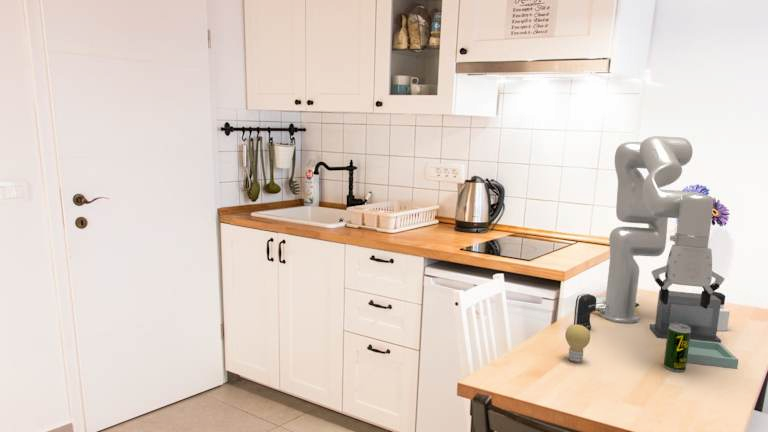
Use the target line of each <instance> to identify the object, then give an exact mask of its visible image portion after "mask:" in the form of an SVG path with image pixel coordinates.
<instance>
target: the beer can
mask: <svg viewBox="0 0 768 432" xmlns="http://www.w3.org/2000/svg"><path fill="white" fill-rule="evenodd" d="M690 335H691V330H690V327H689V326H688V325H685V324H681V323H670V326H669V327H668V335H667V339H666V342H665V350H664V357H663V359H664V360H663V367H664V368H665V369H666V370H668V371H671V372H675V373H684V372H685V371H686V369H687V364H688V363H687V357H688V349H689V342H690Z"/></svg>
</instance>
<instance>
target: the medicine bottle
mask: <svg viewBox="0 0 768 432" xmlns="http://www.w3.org/2000/svg"><path fill="white" fill-rule="evenodd" d="M711 295H714V296H716V297H717V298H718V299H720V300H721V305H720V312H719V319H718V326H717V331H718V332H726V331H728V325H729V319H730V310H729V309H727V308H725V301H726V295H725V294H724V293H722V292H719V291H714V292H713V293H712V294H711Z"/></svg>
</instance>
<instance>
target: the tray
mask: <svg viewBox="0 0 768 432" xmlns="http://www.w3.org/2000/svg"><path fill="white" fill-rule="evenodd" d="M687 364H695V365H702V366H703V365H704V366H711V367H718V368H727V369H729V368H730V369H738V366H739V359H738V358H737V356H735V355H734V354H733V353H732V352H731V351H730V349H728V348H726V347H725V346H724V345H723V343H722V342H721V343H718V342H709V341H700V340H691V339H690V342H689V349H688V357H687Z"/></svg>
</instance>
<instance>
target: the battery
mask: <svg viewBox="0 0 768 432" xmlns="http://www.w3.org/2000/svg"><path fill="white" fill-rule="evenodd" d="M596 303H597V297H596V296H595V295H594V294H590V293H583V294H582V293H581V294H579V295H578V296H576V301H575V307H574V316H573V317H574V318H573V325H582V326H584V327H586V328H587V329H588V330H592V325H591V313H595V312H596V311H597V310H596Z"/></svg>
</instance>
